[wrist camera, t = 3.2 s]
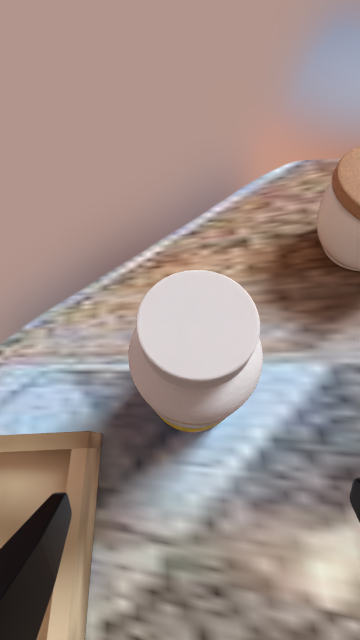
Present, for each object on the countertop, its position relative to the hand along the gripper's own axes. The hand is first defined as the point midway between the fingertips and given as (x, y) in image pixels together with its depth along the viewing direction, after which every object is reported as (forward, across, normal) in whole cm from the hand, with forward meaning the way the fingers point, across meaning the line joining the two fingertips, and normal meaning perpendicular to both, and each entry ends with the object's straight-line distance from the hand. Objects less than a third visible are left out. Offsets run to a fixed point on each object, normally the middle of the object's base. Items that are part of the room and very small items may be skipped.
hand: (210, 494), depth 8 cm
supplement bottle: (+12, 0, +4) cm, 13 cm away
